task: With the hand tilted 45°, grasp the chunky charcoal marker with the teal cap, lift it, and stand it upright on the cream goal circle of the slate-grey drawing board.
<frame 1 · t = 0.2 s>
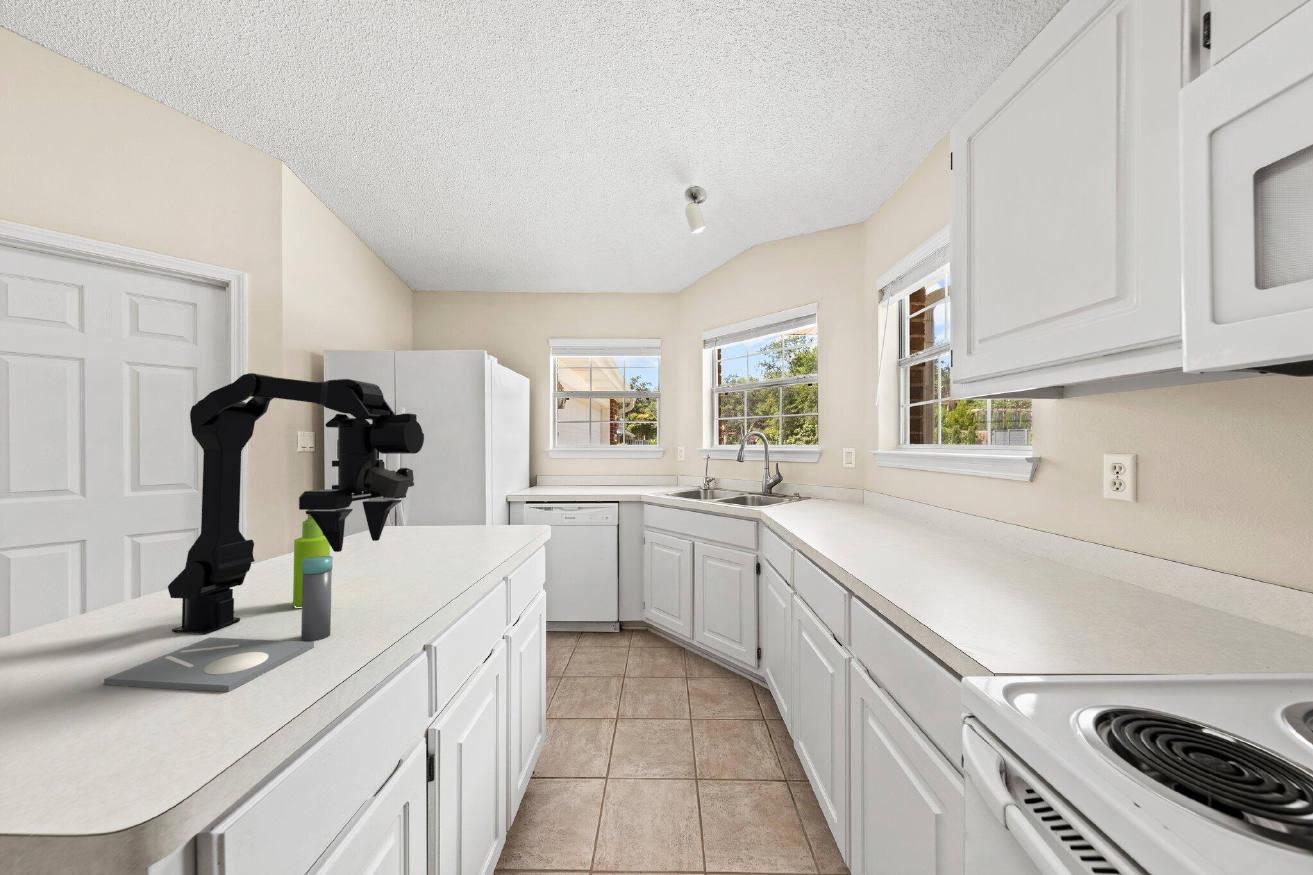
hand: (357, 545, 83), 15 cm above the countertop, tool pointing down, fingers open, 9 cm apart
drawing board: (218, 664, 71), on the countertop
marker: (316, 636, 81), on the countertop
soap dispenser: (313, 603, 98), on the countertop
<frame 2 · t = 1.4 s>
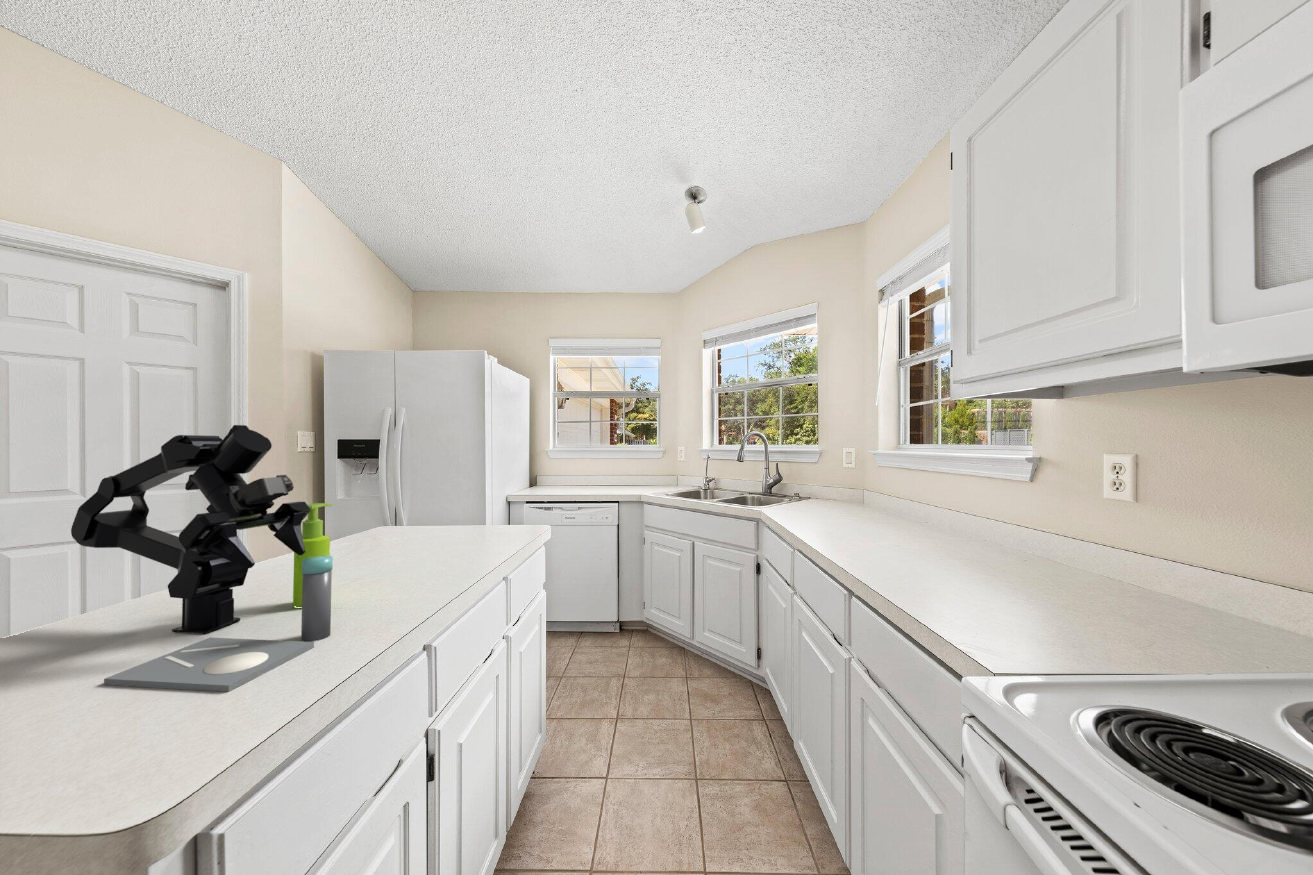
hand: (278, 559, 83), 12 cm above the countertop, tool tilted 45°, fingers open, 9 cm apart
nothing on the countertop moved.
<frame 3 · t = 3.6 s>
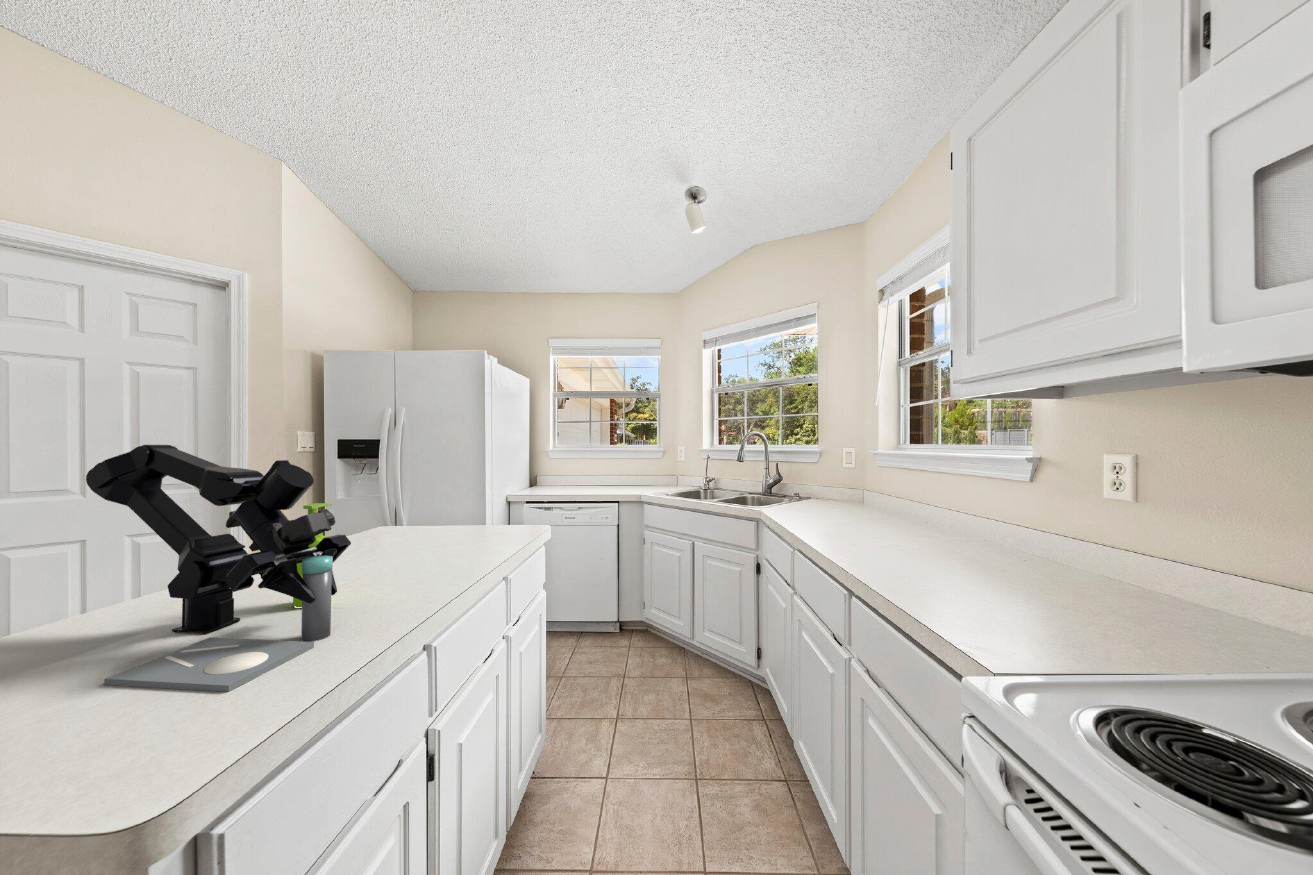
hand: (324, 597, 81), 7 cm above the countertop, tool tilted 45°, fingers closed on marker, 4 cm apart
marker: (316, 636, 81), on the countertop, touching gripper
everything else where it was.
when the fingers open (9 cm above the countertop, at t = 6.9 s): marker drops 1 cm, resting on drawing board.
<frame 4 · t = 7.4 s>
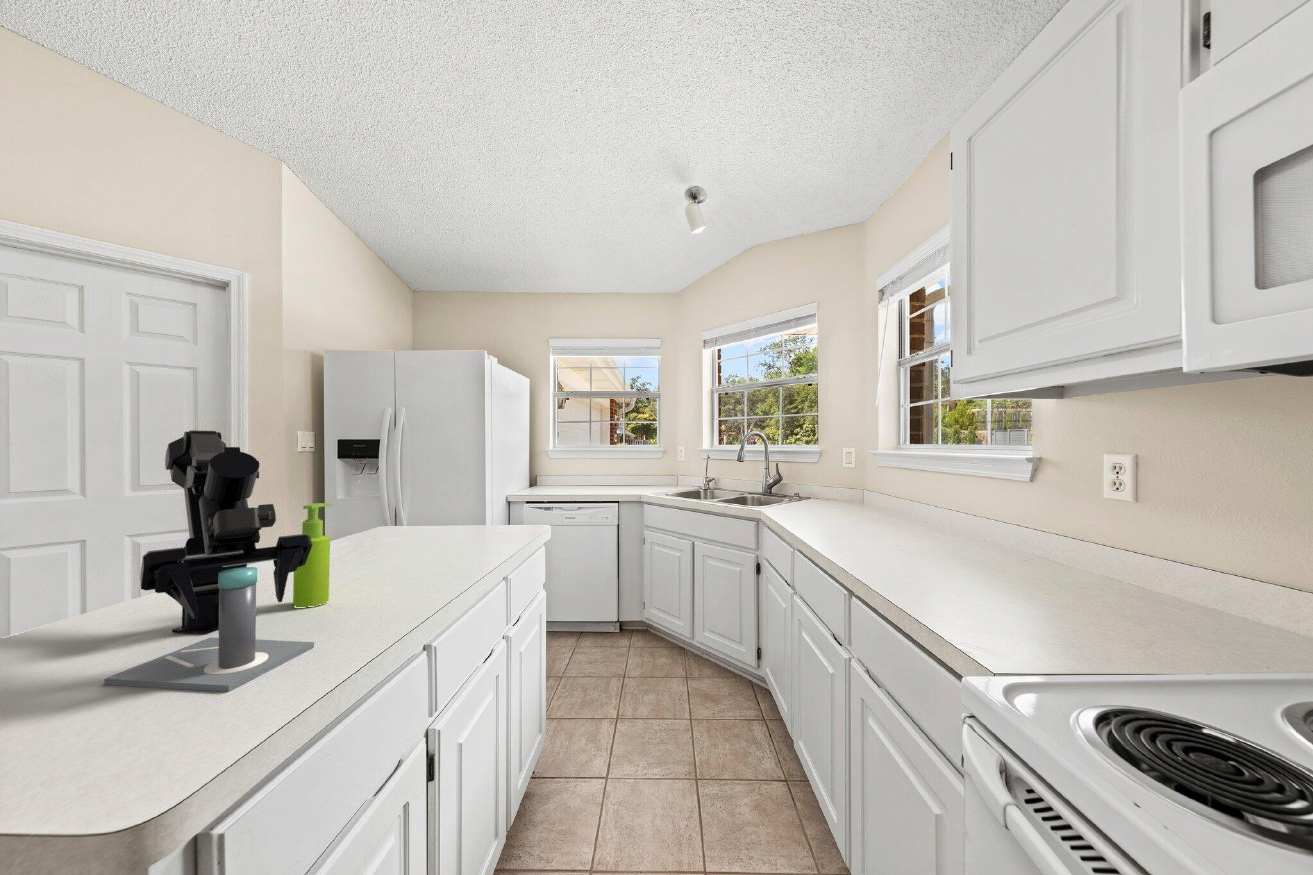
hand: (240, 608, 69), 9 cm above the countertop, tool tilted 45°, fingers open, 9 cm apart
marker: (237, 662, 69), point 1 cm above the countertop, touching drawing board
everything else where it was.
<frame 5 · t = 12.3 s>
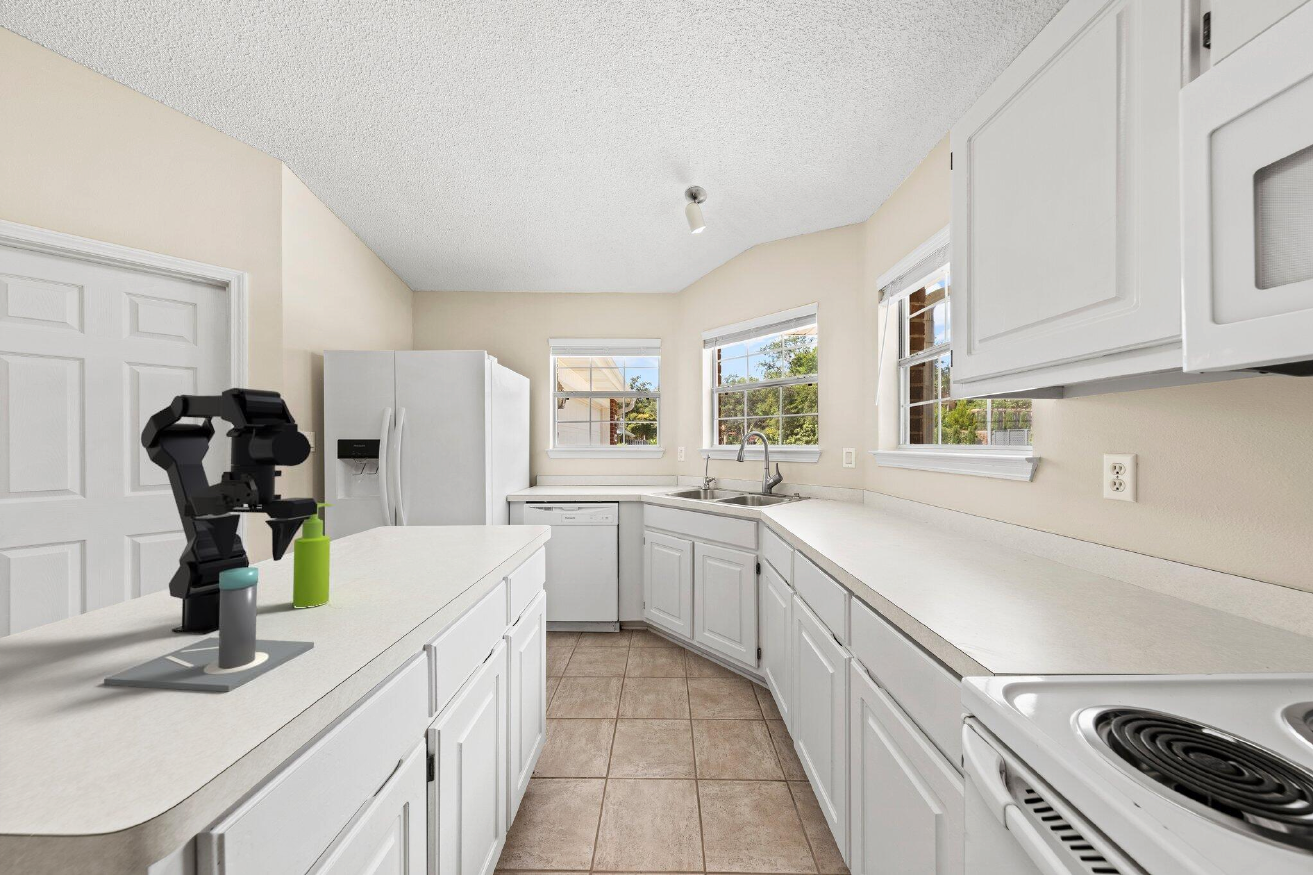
hand: (251, 559, 80), 13 cm above the countertop, tool pointing down, fingers open, 9 cm apart
nothing on the countertop moved.
at the end: marker 0.0 cm from the target spot on the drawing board, point 0.9 cm above the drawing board's base; marker tilted 0°; the gripper is holding nothing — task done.
